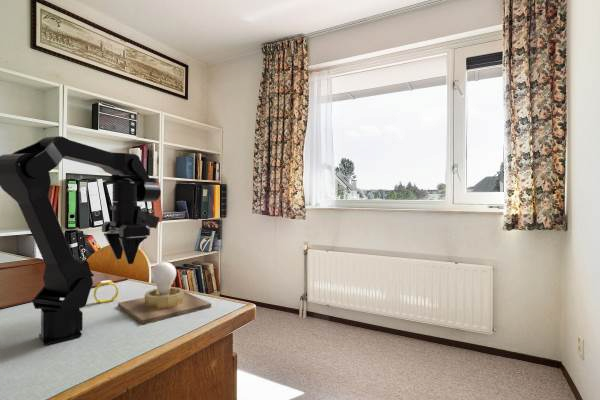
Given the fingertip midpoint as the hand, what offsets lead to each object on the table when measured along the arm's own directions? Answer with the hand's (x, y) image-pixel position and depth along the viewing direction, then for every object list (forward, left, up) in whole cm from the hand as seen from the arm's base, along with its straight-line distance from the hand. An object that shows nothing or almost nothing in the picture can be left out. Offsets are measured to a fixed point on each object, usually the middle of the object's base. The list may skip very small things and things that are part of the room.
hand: (124, 261), depth 86 cm
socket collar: (+9, -4, -13) cm, 16 cm away
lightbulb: (+9, -4, -12) cm, 16 cm away
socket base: (+9, -4, -13) cm, 16 cm away
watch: (-1, +12, -13) cm, 18 cm away
